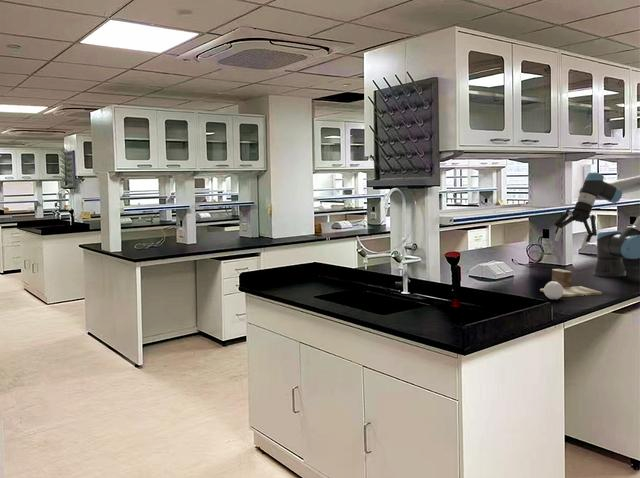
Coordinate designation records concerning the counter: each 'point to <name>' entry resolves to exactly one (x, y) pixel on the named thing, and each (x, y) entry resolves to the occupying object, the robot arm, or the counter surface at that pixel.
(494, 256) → the counter surface
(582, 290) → the board
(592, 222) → the robot arm
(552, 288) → the geometric ball
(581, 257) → the counter surface
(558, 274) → the wooden block
